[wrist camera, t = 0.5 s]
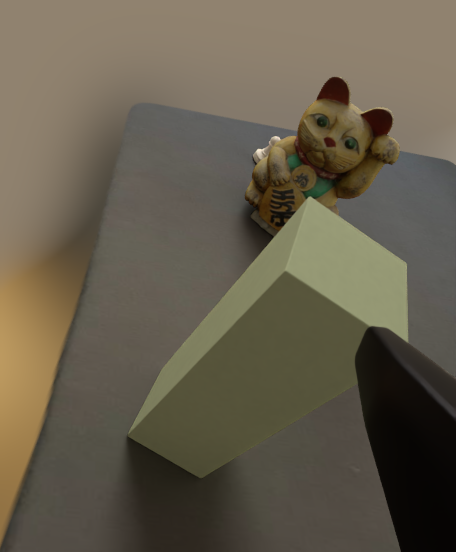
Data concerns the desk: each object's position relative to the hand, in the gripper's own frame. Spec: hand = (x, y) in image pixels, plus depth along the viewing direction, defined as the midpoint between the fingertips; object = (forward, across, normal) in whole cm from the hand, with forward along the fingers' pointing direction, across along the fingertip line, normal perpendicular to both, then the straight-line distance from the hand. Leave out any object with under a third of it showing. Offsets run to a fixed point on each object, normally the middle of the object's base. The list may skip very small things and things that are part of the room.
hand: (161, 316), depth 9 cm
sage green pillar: (+11, -2, +16) cm, 19 cm away
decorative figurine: (+34, -9, +11) cm, 37 cm away
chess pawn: (+43, -8, +8) cm, 44 cm away
